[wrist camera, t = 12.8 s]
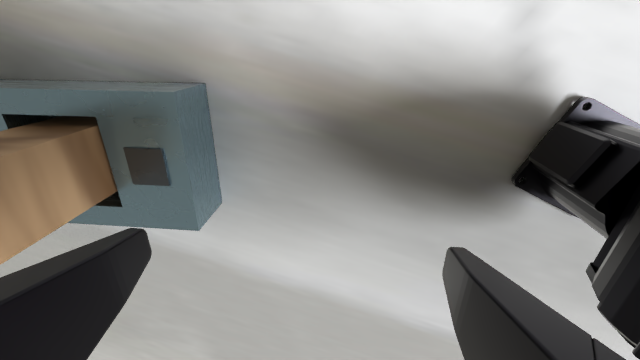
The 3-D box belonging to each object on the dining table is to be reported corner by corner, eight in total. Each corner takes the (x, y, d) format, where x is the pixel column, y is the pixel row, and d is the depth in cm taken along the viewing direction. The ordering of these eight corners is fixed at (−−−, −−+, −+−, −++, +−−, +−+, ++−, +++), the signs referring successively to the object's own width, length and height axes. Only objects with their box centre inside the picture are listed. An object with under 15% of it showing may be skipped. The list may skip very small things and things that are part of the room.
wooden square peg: (132, 114, 21) (-93, 185, 11) (146, 172, 23) (-32, 284, 12) (73, 112, 22) (-203, 180, 11) (92, 170, 24) (-127, 277, 13)
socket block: (205, 83, 20) (171, 92, 16) (222, 202, 24) (197, 232, 20) (-13, 79, 21) (-90, 86, 18) (35, 192, 25) (-20, 218, 21)
